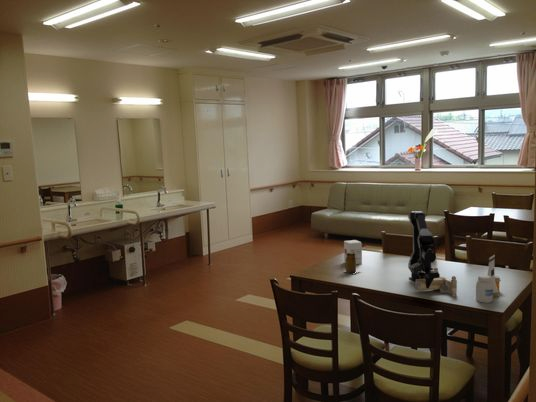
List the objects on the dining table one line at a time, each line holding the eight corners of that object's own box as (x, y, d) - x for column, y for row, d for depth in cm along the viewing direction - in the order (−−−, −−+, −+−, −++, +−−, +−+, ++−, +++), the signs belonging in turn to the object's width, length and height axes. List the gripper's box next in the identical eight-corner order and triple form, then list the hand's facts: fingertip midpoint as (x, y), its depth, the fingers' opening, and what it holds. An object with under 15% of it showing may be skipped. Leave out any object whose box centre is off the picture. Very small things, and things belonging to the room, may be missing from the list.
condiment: (349, 270, 294) (349, 251, 292) (361, 272, 288) (360, 253, 287) (342, 272, 288) (342, 253, 287) (354, 274, 283) (354, 255, 281)
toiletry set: (490, 304, 223) (491, 262, 221) (473, 301, 228) (474, 260, 226) (504, 291, 242) (505, 252, 240) (488, 289, 247) (489, 251, 245)
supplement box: (343, 262, 313) (343, 240, 311) (355, 261, 316) (355, 239, 314) (350, 265, 304) (349, 243, 303) (362, 264, 307) (362, 242, 305)
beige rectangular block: (415, 288, 247) (415, 279, 246) (440, 286, 249) (440, 277, 248) (419, 290, 243) (419, 281, 242) (444, 288, 245) (444, 279, 244)
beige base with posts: (427, 285, 257) (427, 267, 255) (436, 284, 257) (436, 266, 256) (447, 296, 237) (447, 277, 236) (456, 295, 238) (457, 276, 236)
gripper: (403, 255, 252) (403, 283, 253) (419, 263, 233) (419, 293, 235) (422, 253, 253) (422, 281, 255) (440, 261, 235) (440, 291, 237)
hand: (425, 287), depth 245 cm, fingers closed on beige rectangular block, 4 cm apart
